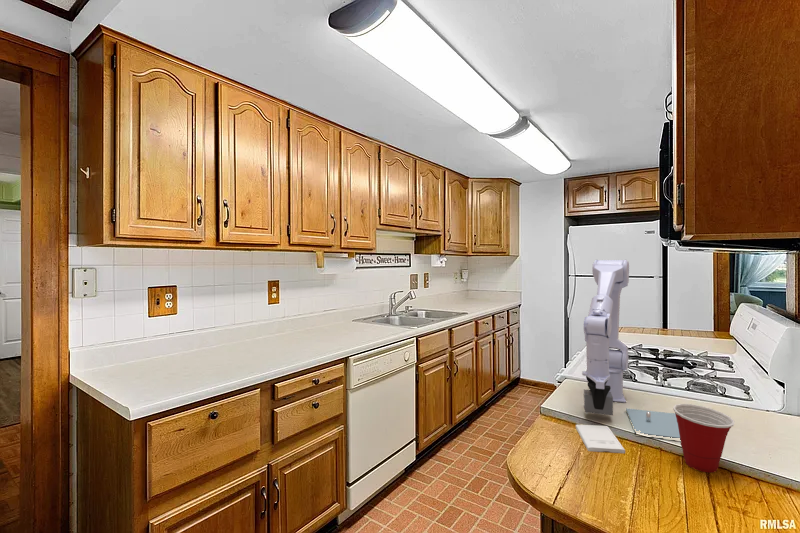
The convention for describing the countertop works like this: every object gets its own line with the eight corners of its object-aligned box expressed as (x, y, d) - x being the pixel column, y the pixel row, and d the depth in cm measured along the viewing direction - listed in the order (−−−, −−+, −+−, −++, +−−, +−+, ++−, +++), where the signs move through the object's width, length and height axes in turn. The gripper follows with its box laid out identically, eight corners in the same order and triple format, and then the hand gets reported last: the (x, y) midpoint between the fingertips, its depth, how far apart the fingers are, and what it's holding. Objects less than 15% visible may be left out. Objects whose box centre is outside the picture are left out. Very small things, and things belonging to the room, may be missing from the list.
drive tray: (626, 411, 117) (626, 399, 117) (700, 419, 110) (700, 407, 110) (635, 436, 102) (636, 422, 102) (722, 447, 96) (722, 432, 95)
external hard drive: (608, 431, 106) (625, 455, 94) (575, 430, 108) (588, 453, 96) (608, 425, 106) (625, 449, 94) (575, 424, 108) (587, 446, 96)
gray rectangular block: (583, 406, 117) (583, 389, 117) (610, 409, 114) (610, 391, 114) (584, 412, 113) (584, 394, 112) (612, 415, 110) (612, 397, 110)
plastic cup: (738, 486, 81) (739, 427, 80) (673, 471, 86) (673, 416, 86) (730, 461, 90) (730, 408, 89) (671, 449, 95) (672, 399, 95)
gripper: (580, 350, 121) (581, 394, 122) (583, 364, 107) (583, 413, 108) (606, 352, 118) (607, 397, 119) (613, 366, 105) (613, 417, 106)
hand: (597, 405), depth 113 cm, fingers closed on gray rectangular block, 4 cm apart
